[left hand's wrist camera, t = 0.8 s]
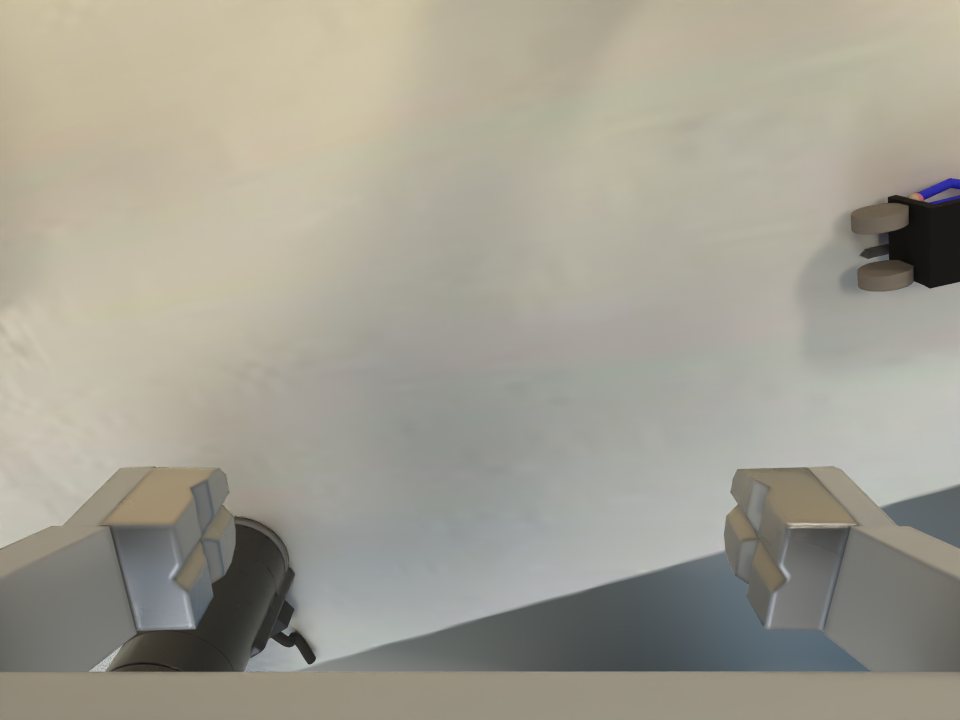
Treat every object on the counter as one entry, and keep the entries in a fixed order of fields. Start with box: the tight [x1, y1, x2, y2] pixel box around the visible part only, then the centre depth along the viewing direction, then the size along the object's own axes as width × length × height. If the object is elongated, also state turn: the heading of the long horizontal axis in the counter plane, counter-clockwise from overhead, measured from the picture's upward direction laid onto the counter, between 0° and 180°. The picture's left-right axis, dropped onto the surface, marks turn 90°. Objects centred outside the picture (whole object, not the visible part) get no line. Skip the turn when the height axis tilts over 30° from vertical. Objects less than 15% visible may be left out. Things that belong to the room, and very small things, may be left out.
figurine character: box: [851, 178, 960, 291], centre depth 48 cm, size 7×8×15 cm
